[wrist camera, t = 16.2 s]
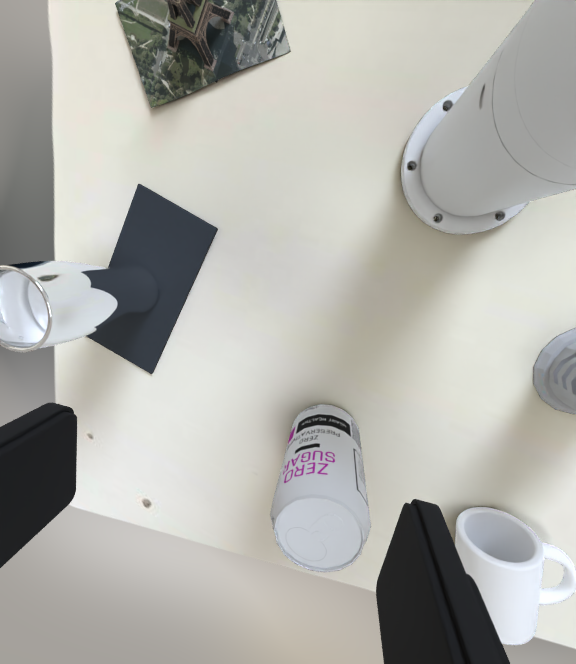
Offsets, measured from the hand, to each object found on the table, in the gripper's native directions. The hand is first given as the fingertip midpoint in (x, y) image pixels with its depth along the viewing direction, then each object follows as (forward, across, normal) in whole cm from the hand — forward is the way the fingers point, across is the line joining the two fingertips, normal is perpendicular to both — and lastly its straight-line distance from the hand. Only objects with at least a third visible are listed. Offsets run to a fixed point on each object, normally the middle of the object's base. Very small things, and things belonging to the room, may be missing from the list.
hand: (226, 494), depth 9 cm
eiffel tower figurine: (+28, +16, -25) cm, 41 cm away
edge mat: (+28, +20, +1) cm, 35 cm away
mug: (+28, -28, +23) cm, 46 cm away
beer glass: (+28, +21, +2) cm, 35 cm away
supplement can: (+28, -5, +14) cm, 32 cm away
